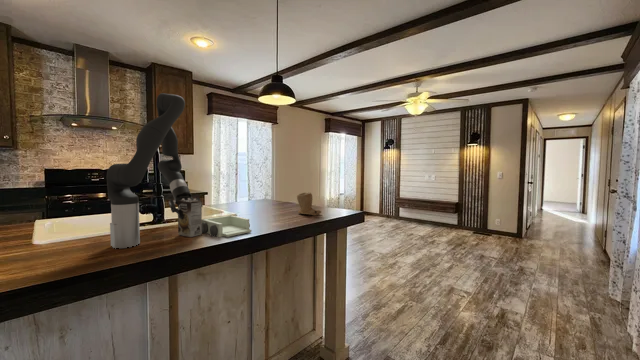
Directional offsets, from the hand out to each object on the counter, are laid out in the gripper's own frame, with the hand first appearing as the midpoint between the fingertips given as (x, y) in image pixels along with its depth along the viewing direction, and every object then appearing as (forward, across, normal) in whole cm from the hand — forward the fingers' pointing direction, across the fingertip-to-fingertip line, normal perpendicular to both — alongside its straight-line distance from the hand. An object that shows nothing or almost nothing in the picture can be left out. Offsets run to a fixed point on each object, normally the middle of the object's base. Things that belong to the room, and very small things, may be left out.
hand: (191, 216), depth 130 cm
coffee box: (+5, 0, +7) cm, 9 cm away
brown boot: (+8, +77, +5) cm, 78 cm away
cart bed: (+11, +15, +2) cm, 18 cm away
